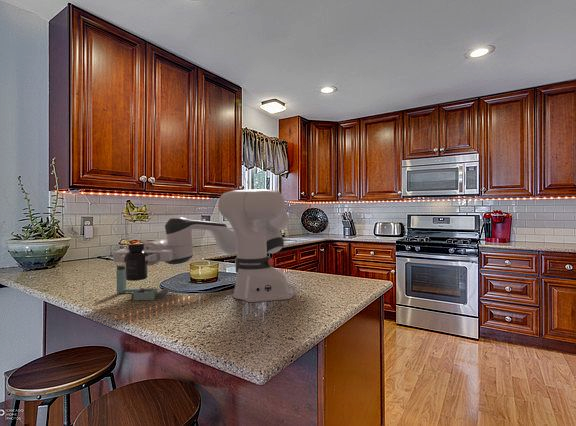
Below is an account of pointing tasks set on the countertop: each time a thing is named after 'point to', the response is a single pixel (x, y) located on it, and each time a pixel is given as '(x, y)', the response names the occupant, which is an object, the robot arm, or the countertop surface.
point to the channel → (159, 294)
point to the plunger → (136, 296)
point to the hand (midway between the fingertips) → (134, 259)
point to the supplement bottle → (136, 263)
